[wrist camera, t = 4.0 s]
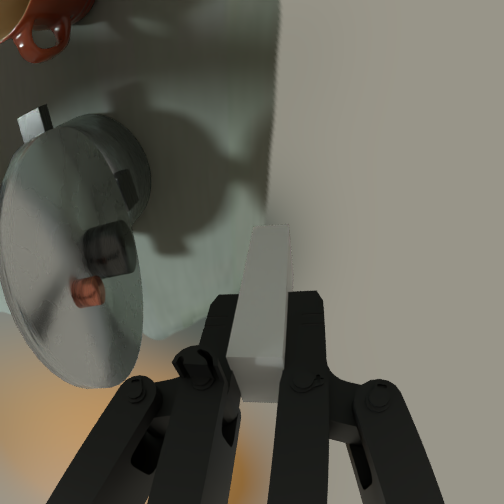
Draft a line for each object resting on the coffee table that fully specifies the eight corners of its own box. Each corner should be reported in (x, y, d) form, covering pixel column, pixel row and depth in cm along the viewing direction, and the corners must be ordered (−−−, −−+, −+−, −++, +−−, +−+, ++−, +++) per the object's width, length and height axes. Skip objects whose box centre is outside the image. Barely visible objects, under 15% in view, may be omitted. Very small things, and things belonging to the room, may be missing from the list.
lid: (117, 434, 14) (164, 433, 14) (-60, 201, 6) (-9, 170, 6) (142, 273, 27) (173, 267, 27) (85, 111, 18) (121, 98, 18)
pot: (81, 248, 37) (50, 287, 31) (31, 115, 26) (-17, 139, 20) (181, 240, 34) (156, 289, 28) (135, 71, 23) (87, 83, 17)
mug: (37, -7, 17) (-32, -3, 9) (98, -54, 15) (30, -72, 6) (65, 73, 23) (-6, 95, 15) (130, 30, 21) (60, 30, 13)
